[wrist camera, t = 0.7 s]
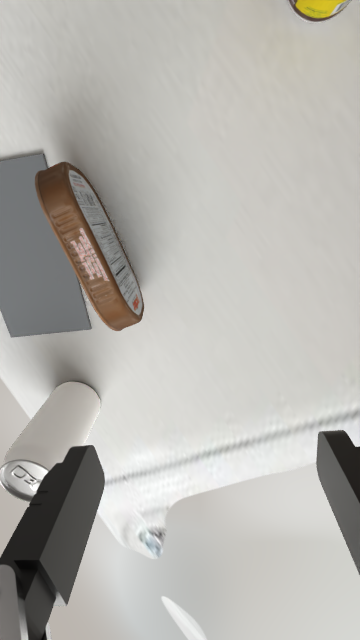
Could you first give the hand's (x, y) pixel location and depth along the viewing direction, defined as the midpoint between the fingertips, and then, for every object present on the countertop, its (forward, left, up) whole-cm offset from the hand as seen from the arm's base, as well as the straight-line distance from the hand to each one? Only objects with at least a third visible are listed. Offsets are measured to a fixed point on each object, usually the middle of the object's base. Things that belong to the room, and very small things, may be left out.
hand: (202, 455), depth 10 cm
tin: (-5, -9, -23) cm, 25 cm away
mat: (-5, -18, -22) cm, 29 cm away
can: (+14, -18, -22) cm, 32 cm away
